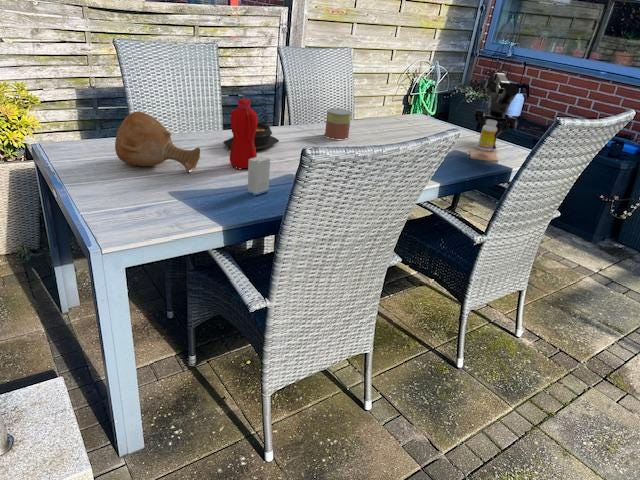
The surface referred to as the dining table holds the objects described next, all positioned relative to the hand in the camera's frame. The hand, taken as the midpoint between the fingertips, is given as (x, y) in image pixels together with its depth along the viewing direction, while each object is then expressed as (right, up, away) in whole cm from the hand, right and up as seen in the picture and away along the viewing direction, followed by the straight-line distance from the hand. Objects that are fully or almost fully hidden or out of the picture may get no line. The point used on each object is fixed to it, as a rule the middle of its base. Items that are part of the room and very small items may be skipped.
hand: (487, 135), depth 223 cm
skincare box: (-96, -31, -55) cm, 115 cm away
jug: (-134, -21, -42) cm, 142 cm away
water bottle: (-104, -19, -34) cm, 111 cm away
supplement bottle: (0, -5, +4) cm, 7 cm away
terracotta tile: (0, -9, +6) cm, 10 cm away
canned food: (-67, +2, +13) cm, 68 cm away
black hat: (-104, -7, -10) cm, 105 cm away
